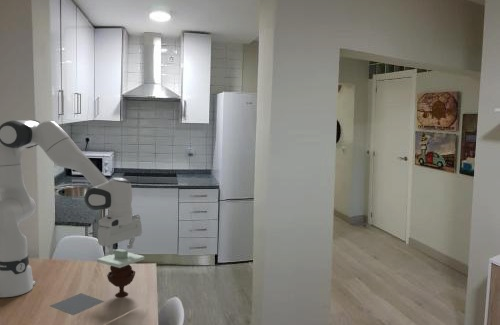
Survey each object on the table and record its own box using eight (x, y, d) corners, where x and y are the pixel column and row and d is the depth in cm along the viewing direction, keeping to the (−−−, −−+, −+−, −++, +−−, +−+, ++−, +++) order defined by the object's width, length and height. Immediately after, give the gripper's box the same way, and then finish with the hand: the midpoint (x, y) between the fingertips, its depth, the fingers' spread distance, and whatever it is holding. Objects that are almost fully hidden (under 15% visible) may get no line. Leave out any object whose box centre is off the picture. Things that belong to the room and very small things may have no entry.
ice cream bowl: (127, 302, 165) (127, 266, 163) (102, 299, 167) (101, 263, 165) (140, 291, 175) (139, 257, 173) (115, 289, 177) (115, 255, 176)
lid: (97, 261, 167) (97, 251, 167) (122, 253, 178) (122, 244, 178) (119, 268, 160) (119, 257, 160) (144, 259, 171) (144, 249, 171)
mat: (49, 306, 160) (49, 305, 160) (81, 294, 172) (81, 293, 172) (73, 316, 153) (73, 315, 152) (104, 302, 165) (104, 301, 164)
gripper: (134, 212, 178) (134, 243, 179) (94, 221, 161) (95, 256, 162) (145, 214, 175) (145, 246, 176) (106, 224, 157) (106, 259, 159)
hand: (121, 251), depth 169 cm, fingers open, 8 cm apart
